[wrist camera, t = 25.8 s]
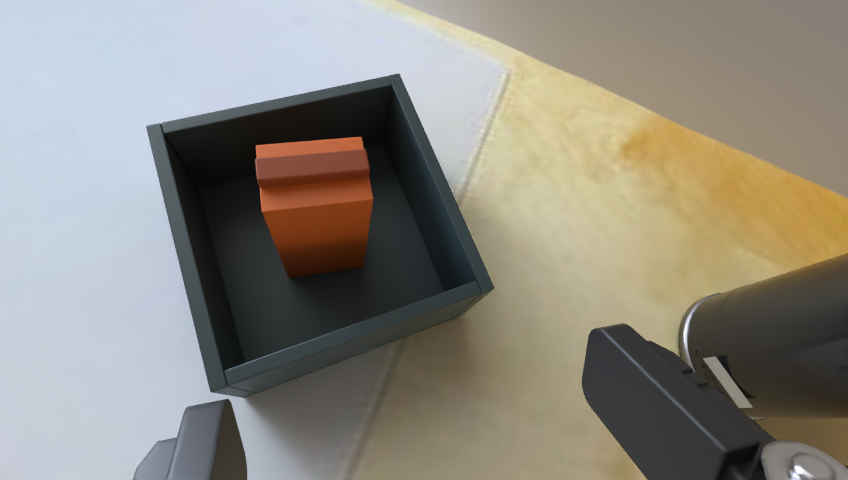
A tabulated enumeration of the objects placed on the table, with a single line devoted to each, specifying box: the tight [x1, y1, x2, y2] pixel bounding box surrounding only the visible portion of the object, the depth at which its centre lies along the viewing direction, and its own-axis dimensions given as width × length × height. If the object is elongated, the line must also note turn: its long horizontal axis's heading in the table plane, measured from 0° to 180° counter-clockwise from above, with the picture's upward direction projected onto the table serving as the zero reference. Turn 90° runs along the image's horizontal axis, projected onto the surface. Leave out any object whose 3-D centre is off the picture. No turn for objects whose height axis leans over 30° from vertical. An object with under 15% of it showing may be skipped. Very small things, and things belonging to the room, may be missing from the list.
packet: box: [255, 137, 373, 278], centre depth 27 cm, size 5×4×12 cm
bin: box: [146, 74, 494, 398], centre depth 30 cm, size 16×16×8 cm
